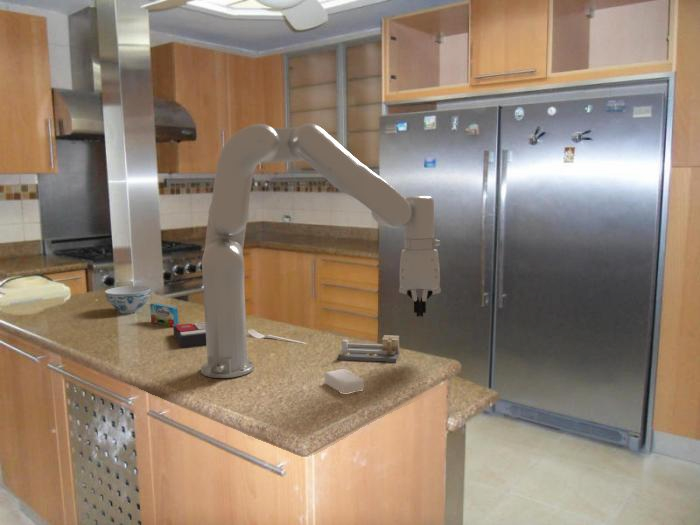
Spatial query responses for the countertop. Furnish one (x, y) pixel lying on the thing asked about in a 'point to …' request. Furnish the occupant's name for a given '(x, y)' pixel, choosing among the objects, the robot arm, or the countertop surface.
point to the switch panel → (365, 352)
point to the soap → (344, 381)
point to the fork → (257, 335)
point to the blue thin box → (164, 314)
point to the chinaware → (128, 297)
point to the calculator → (190, 334)
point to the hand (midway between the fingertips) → (420, 315)
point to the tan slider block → (390, 344)
